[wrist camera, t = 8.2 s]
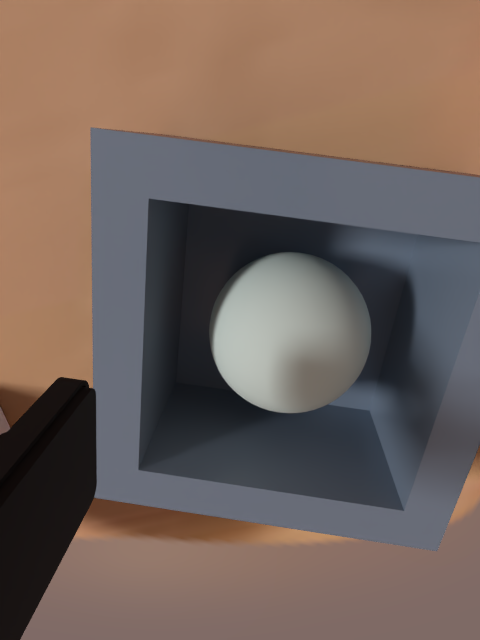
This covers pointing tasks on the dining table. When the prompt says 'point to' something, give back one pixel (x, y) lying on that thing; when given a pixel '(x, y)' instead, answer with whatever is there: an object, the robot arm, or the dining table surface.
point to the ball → (290, 332)
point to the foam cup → (3, 423)
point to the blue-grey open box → (207, 382)
